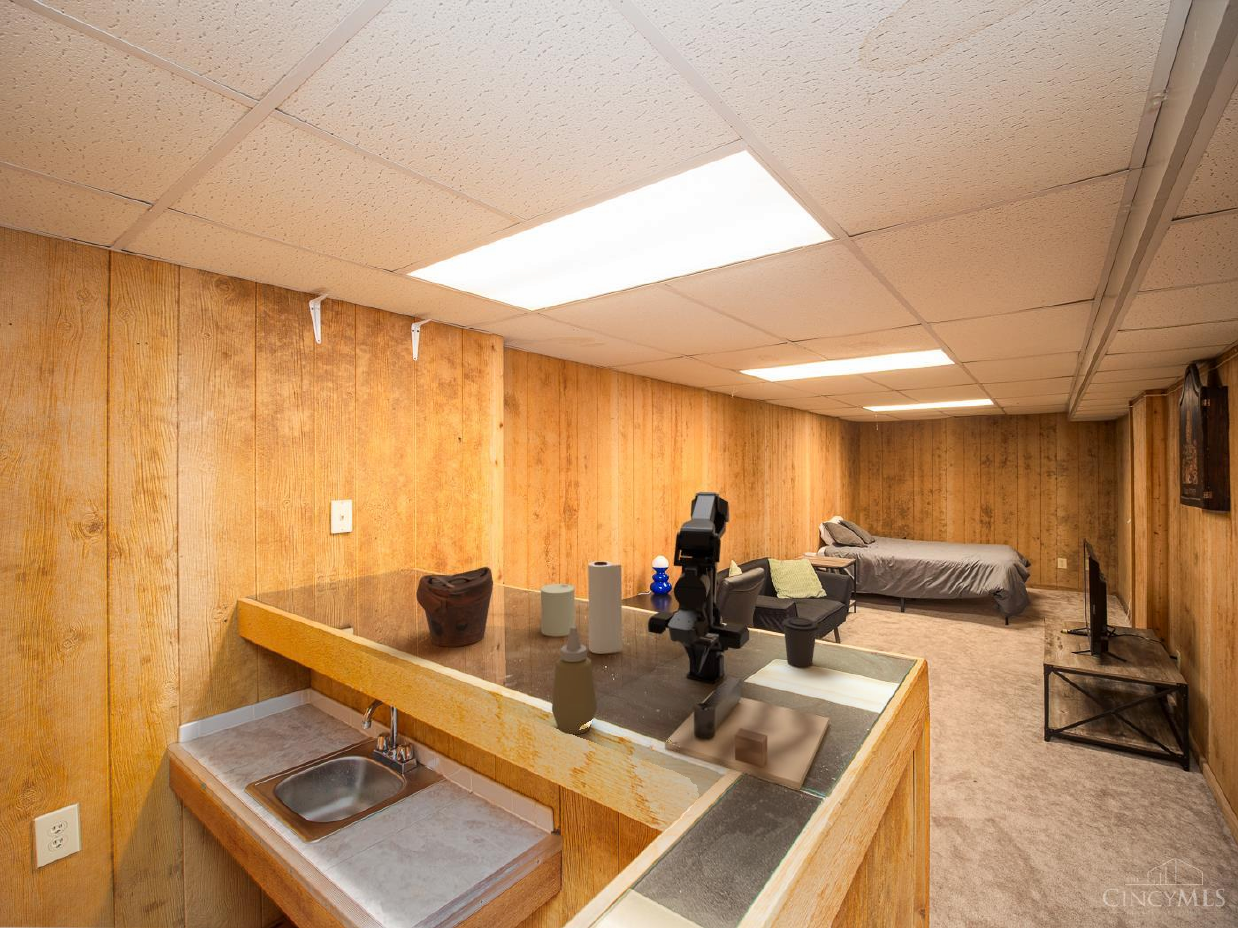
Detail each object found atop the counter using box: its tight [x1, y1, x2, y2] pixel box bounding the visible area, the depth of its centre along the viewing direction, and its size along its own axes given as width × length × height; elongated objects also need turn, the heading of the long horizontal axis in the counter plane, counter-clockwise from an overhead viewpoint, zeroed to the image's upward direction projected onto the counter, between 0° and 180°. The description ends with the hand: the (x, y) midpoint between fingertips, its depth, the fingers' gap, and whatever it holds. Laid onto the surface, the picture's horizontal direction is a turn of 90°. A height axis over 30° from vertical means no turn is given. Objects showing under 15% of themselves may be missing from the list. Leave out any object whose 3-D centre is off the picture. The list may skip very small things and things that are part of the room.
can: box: [540, 583, 576, 638], centre depth 151 cm, size 9×9×12 cm
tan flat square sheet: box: [664, 690, 830, 790], centre depth 98 cm, size 22×22×1 cm
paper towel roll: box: [587, 560, 623, 655], centre depth 137 cm, size 7×6×21 cm
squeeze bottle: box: [551, 626, 597, 735], centre depth 101 cm, size 8×8×18 cm
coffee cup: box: [781, 617, 820, 669], centre depth 129 cm, size 8×8×10 cm
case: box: [415, 566, 494, 648], centre depth 145 cm, size 18×20×18 cm
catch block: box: [735, 728, 767, 768], centre depth 89 cm, size 4×2×4 cm, turn 59°
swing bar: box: [693, 675, 742, 739], centre depth 101 cm, size 17×4×4 cm, turn 149°
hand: (697, 672), depth 108 cm, fingers closed
